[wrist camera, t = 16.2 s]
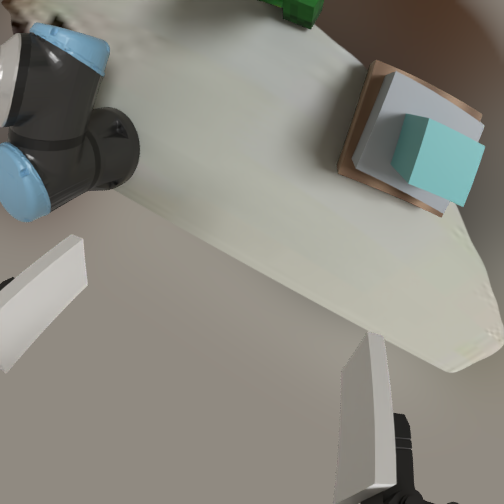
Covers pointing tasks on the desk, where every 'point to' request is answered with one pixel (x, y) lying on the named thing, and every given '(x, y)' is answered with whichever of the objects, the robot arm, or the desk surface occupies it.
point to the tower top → (390, 124)
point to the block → (437, 158)
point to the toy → (299, 10)
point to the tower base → (360, 119)
